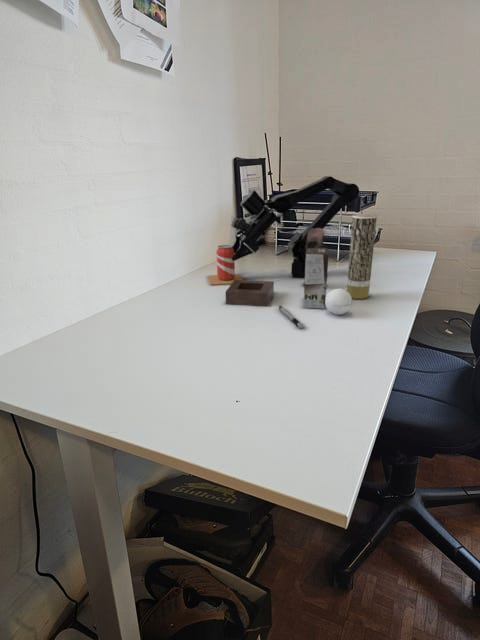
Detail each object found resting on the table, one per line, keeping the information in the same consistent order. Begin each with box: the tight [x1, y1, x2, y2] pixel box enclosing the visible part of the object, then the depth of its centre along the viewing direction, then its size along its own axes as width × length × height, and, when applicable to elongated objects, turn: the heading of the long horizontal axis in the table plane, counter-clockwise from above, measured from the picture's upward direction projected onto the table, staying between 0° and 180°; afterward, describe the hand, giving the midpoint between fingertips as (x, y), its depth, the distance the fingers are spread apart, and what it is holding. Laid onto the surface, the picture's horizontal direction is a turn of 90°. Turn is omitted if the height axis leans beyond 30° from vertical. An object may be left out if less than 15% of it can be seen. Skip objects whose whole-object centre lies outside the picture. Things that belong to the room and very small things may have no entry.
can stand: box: [225, 279, 275, 307], centre depth 126 cm, size 13×13×4 cm
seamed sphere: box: [325, 287, 362, 316], centre depth 111 cm, size 10×7×7 cm
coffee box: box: [302, 247, 330, 310], centre depth 118 cm, size 9×6×16 cm
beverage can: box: [216, 244, 236, 280], centre depth 145 cm, size 6×6×12 cm
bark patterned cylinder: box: [346, 213, 378, 300], centre depth 122 cm, size 7×7×25 cm
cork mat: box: [208, 273, 244, 286], centre depth 147 cm, size 12×12×1 cm
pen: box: [278, 305, 304, 329], centre depth 109 cm, size 1×16×1 cm, turn 15°
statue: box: [302, 228, 325, 287], centre depth 134 cm, size 7×7×20 cm
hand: (230, 257), depth 145 cm, fingers open, 9 cm apart
